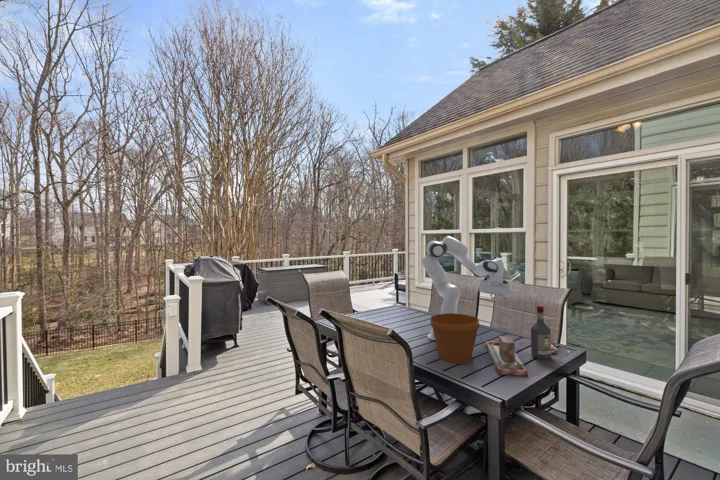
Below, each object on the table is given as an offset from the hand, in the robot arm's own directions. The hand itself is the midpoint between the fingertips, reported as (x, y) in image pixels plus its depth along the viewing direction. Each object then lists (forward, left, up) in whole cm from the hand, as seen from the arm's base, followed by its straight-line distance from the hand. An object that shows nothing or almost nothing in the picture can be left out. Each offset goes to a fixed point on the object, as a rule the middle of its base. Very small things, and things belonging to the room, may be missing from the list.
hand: (493, 300), depth 230 cm
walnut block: (0, -42, -25) cm, 49 cm away
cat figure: (+30, -10, -29) cm, 42 cm away
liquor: (+22, -27, -28) cm, 45 cm away
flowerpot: (-28, -37, -28) cm, 54 cm away
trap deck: (0, -35, -28) cm, 45 cm away
